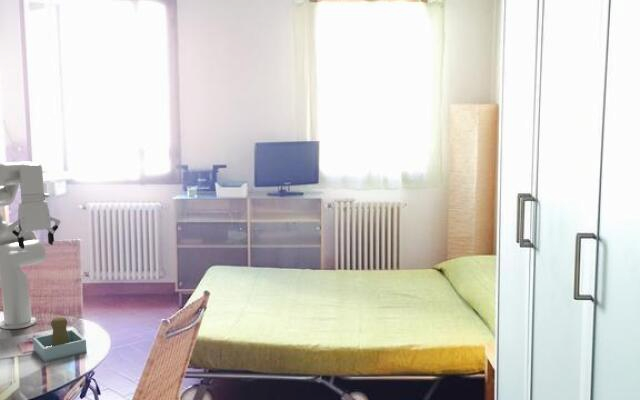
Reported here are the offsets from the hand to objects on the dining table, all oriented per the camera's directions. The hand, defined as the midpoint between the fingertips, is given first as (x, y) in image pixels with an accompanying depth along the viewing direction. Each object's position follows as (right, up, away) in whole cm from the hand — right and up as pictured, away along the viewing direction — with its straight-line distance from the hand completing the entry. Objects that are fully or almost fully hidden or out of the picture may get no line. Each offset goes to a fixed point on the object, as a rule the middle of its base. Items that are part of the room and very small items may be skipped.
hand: (36, 246), depth 238 cm
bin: (+13, -35, -11) cm, 39 cm away
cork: (+13, -35, -11) cm, 38 cm away
